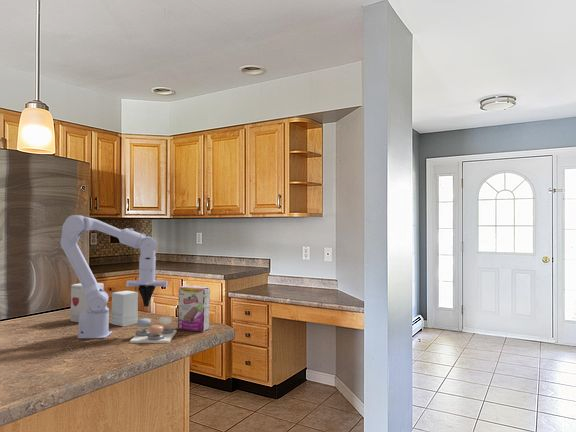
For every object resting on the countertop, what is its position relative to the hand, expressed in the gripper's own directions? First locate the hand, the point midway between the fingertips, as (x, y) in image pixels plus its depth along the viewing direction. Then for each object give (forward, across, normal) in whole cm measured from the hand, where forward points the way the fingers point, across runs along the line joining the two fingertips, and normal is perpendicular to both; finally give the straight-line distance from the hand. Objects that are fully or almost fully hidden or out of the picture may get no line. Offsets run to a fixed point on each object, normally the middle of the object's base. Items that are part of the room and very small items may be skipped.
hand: (146, 306), depth 158 cm
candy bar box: (+10, +17, +5) cm, 20 cm away
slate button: (+6, 0, -5) cm, 8 cm away
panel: (+10, +4, -6) cm, 12 cm away
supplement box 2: (+10, -12, +14) cm, 21 cm away
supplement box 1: (+10, -29, +20) cm, 37 cm away
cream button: (+6, +8, -2) cm, 10 cm away
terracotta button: (+7, +6, -10) cm, 14 cm away
